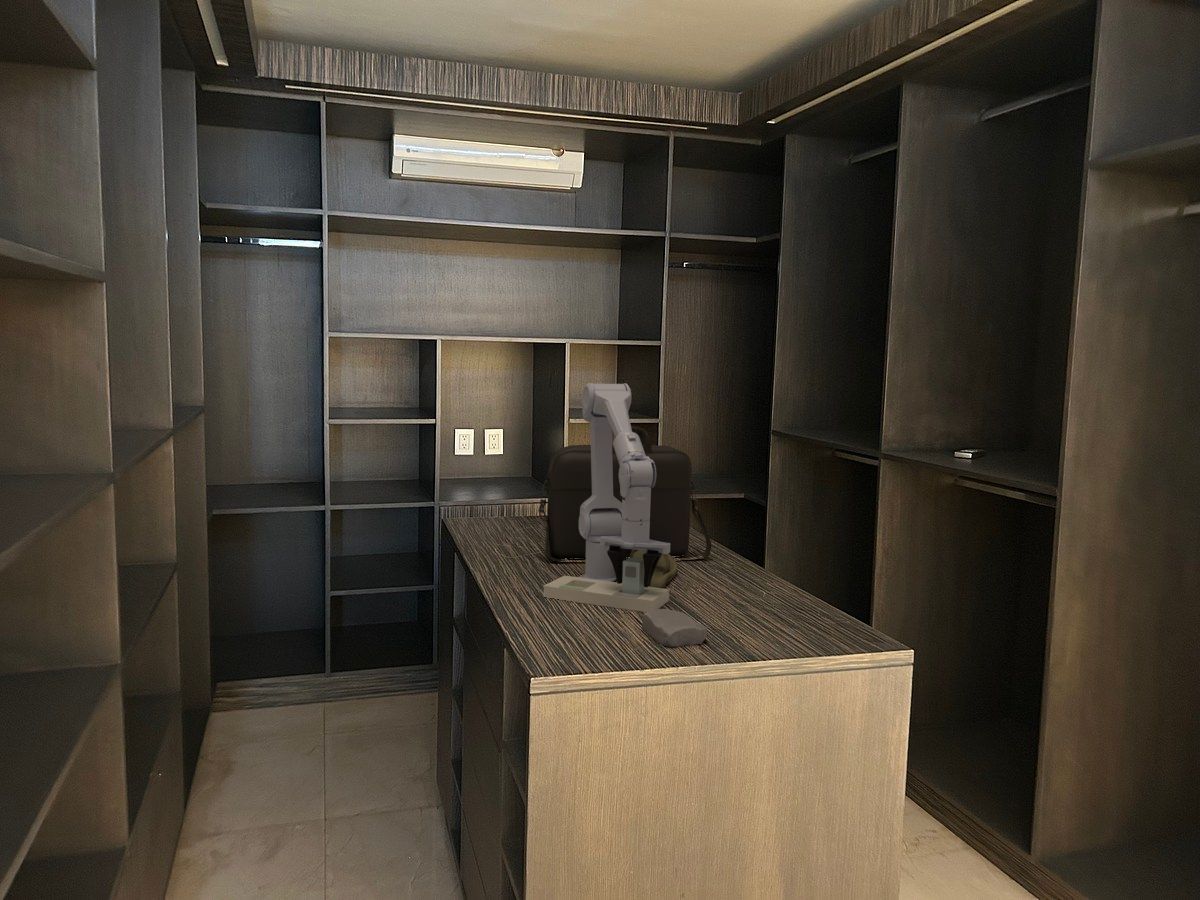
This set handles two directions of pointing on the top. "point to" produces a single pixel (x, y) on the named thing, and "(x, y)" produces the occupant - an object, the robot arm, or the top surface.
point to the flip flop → (659, 568)
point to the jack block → (604, 594)
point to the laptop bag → (575, 487)
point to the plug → (633, 576)
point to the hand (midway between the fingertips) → (633, 584)
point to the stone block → (673, 628)
